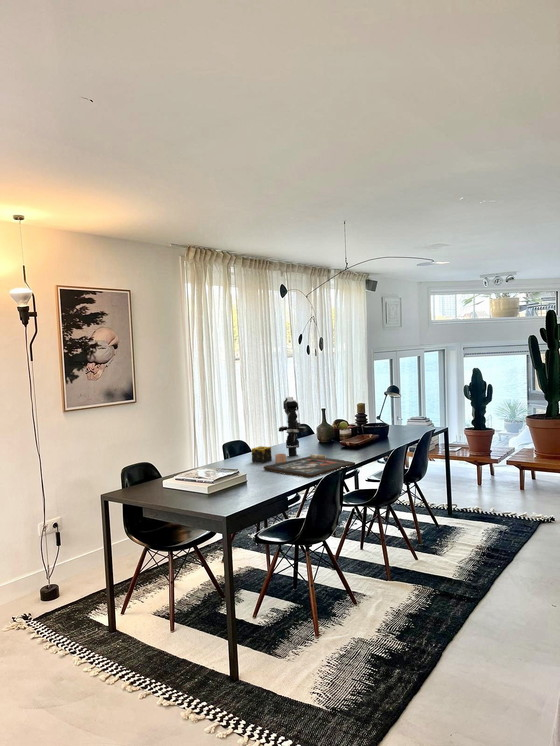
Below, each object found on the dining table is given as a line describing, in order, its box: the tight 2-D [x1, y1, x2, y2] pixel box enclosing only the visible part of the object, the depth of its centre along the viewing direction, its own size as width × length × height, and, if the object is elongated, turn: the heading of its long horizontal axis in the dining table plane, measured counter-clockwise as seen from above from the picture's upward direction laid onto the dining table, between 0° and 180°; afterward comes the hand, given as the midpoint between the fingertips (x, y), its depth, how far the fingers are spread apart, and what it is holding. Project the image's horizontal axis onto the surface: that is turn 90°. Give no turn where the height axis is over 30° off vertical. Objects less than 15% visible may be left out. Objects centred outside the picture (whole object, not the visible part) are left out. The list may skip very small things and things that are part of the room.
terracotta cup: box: [274, 453, 287, 464], centre depth 372 cm, size 7×7×6 cm
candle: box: [251, 445, 273, 464], centre depth 378 cm, size 10×10×10 cm
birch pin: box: [309, 454, 327, 460], centre depth 366 cm, size 3×3×10 cm
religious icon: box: [263, 455, 356, 478], centre depth 351 cm, size 40×45×3 cm
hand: (293, 441), depth 376 cm, fingers closed
